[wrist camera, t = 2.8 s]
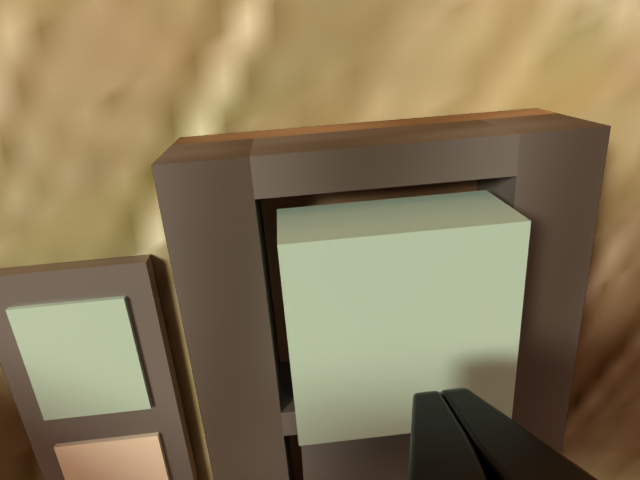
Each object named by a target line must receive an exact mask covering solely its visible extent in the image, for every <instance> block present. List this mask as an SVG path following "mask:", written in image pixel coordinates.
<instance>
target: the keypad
mask: <svg viewBox="0 0 640 480" xmlns="http://www.w3.org/2000/svg"><path fill="white" fill-rule="evenodd" d="M610 128H611V126H608V125H604V124H600V123H595V122H591V121H587V120H583V119H579V118H575V117H571V116H566V115H562V114H558V113H554V112H550V111H546V110H541V109H537V108H534V109H522V110H509V111H497V112H485V113H473V114H461V115H448V116H436V117H424V118H412V119H400V120H387V121H375V122H363V123H351V124H339V125H327V126H314V127H302V128H290V129H278V130H266V131H253V132H241V133H229V134H217V135H205V136H192V137H180V138H179V139H178V140H177V141H176V142H175V143H174V144H173V145H172V146H171V147H169V148H168V149H167V150H166V151H165V152H164V153H163V154H162V155H161V156H160V157H159V158H158V159H157V160H156V161H155V162H154V163H153V164H152V165H151V167H152V172H153V177H154V182H155V187H156V192H157V197H158V202H159V207H160V212H161V217H162V222H163V227H164V232H165V237H166V242H167V247H168V252H169V257H170V262H171V267H172V272H173V277H174V283H175V288H176V293H177V298H178V303H179V308H180V313H181V318H182V323H183V328H184V333H185V338H186V343H187V348H188V353H189V358H190V363H191V368H192V373H193V378H194V383H195V388H196V393H197V398H198V403H199V408H200V413H201V418H202V423H203V428H204V433H205V438H206V443H207V448H208V453H209V458H210V463H211V468H212V473H213V478H214V480H304V479H303V464H302V448H301V446H299V441H298V432H297V423H296V414H295V405H294V395H293V386H292V377H291V368H290V359H289V349H288V340H287V331H286V322H285V313H284V303H283V294H282V285H281V276H280V266H279V257H278V248H277V209H283V208H294V207H305V206H316V205H327V204H339V203H350V202H361V201H372V200H383V199H394V198H405V197H416V196H427V195H438V194H449V193H460V192H471V191H482V190H487V191H488V192H490V193H491V194H493V195H494V196H496V197H497V198H498V199H500V200H501V201H503V202H504V203H506V204H507V205H509V206H510V207H512V208H513V209H514V210H516V211H517V212H519V213H520V214H522V215H523V216H525V217H526V218H528V219H529V220H531V228H530V238H529V248H528V258H527V268H526V279H525V289H524V299H523V309H522V319H521V329H520V339H519V350H518V360H517V370H516V380H515V390H514V400H513V410H512V420H513V421H515V422H516V423H518V424H519V425H520V426H522V427H523V428H525V429H526V430H528V431H529V432H530V433H532V434H533V435H535V436H536V437H538V438H539V439H540V440H542V441H543V442H545V443H546V444H548V445H549V446H550V447H552V448H553V449H555V450H556V451H558V452H559V453H560V454H561V452H562V446H563V439H564V433H565V426H566V419H567V413H568V406H569V400H570V393H571V386H572V380H573V373H574V366H575V360H576V353H577V347H578V340H579V333H580V327H581V320H582V314H583V307H584V300H585V294H586V287H587V281H588V274H589V267H590V261H591V254H592V247H593V241H594V234H595V228H596V221H597V214H598V208H599V201H600V195H601V188H602V181H603V175H604V168H605V162H606V155H607V148H608V142H609V135H610Z"/></svg>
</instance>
